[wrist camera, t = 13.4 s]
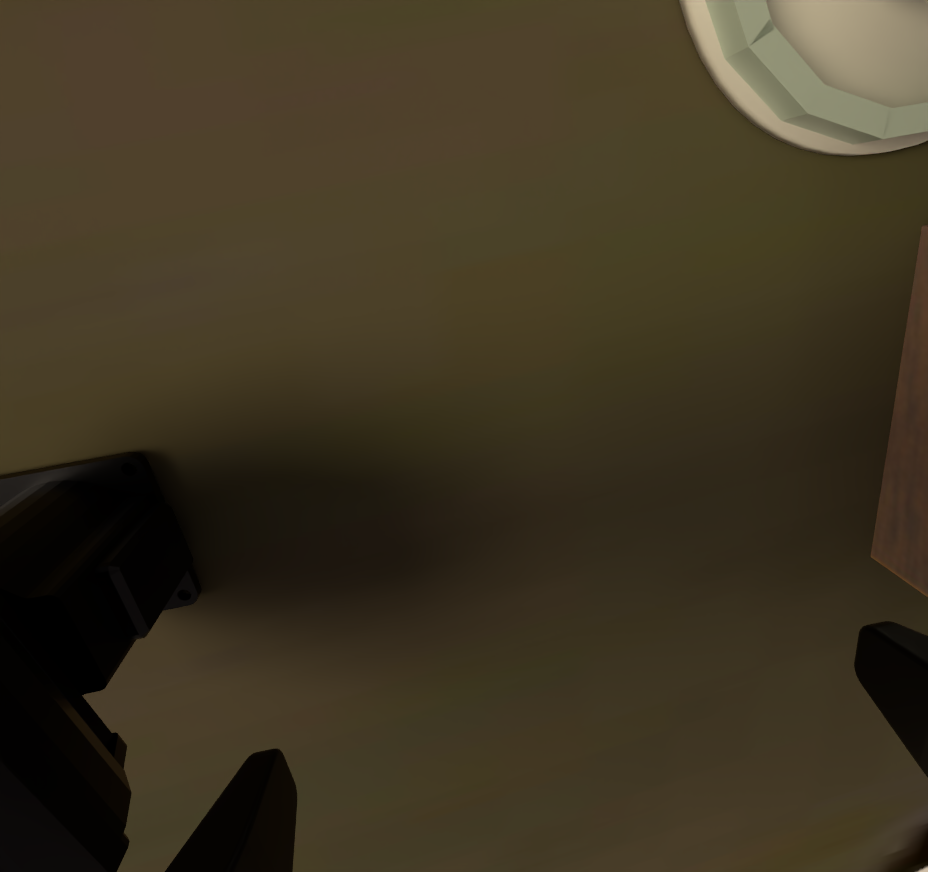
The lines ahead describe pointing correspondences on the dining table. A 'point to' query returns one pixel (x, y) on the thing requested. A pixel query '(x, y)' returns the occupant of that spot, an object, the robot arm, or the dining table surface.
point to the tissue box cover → (908, 449)
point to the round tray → (820, 69)
